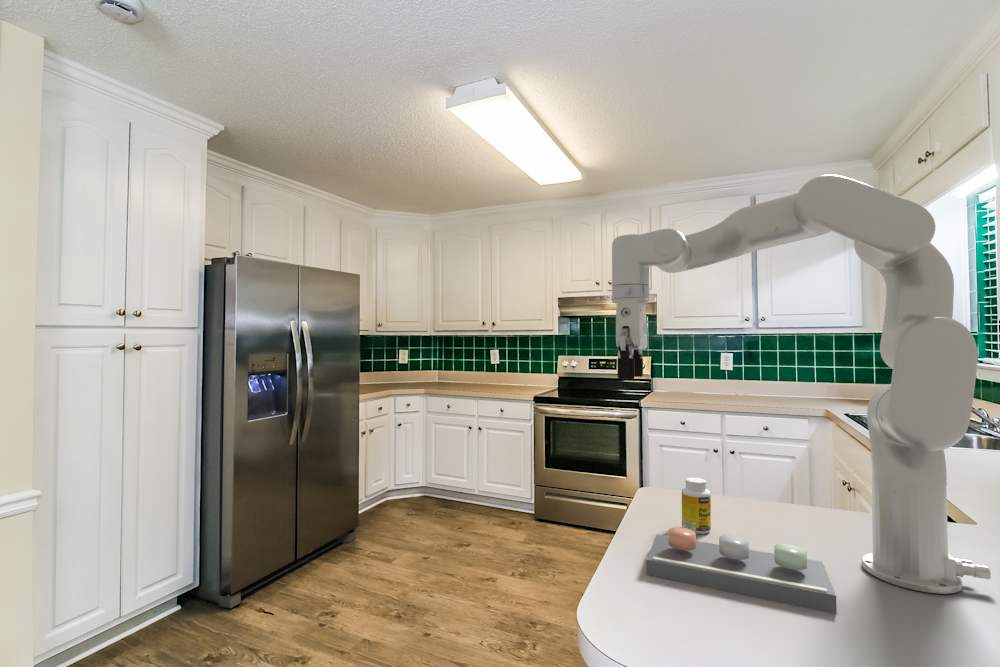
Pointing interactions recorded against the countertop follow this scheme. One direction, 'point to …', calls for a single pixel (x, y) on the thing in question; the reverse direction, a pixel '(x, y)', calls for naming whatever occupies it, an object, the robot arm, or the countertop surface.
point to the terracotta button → (682, 538)
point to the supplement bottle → (696, 506)
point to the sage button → (790, 556)
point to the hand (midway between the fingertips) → (630, 377)
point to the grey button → (734, 547)
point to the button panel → (743, 574)
